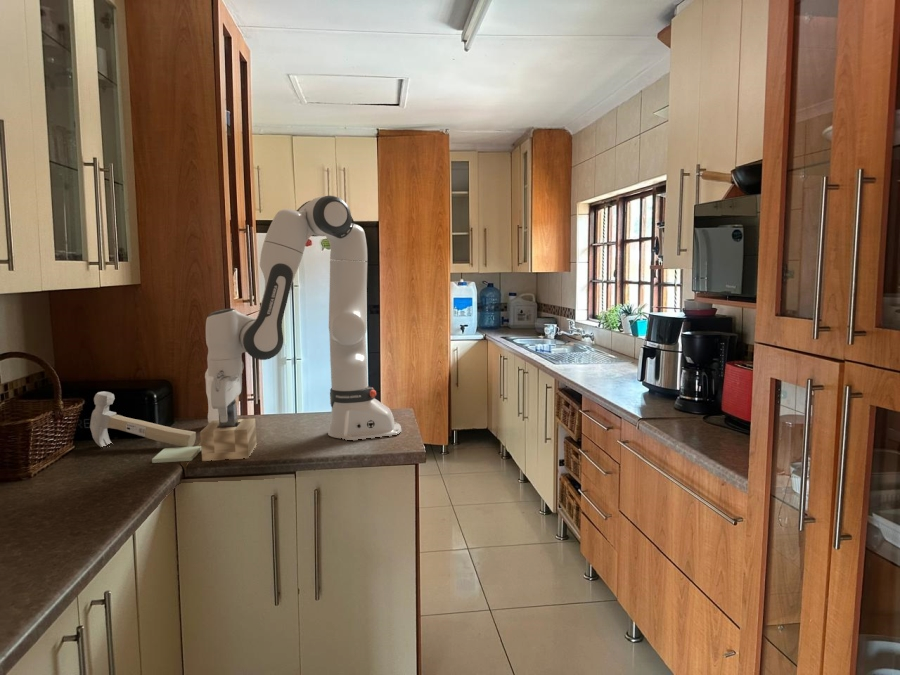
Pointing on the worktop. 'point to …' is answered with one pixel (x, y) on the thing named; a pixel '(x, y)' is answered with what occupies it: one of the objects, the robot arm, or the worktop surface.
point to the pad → (177, 454)
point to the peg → (230, 416)
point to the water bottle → (212, 412)
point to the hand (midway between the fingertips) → (228, 417)
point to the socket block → (228, 440)
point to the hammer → (132, 425)
